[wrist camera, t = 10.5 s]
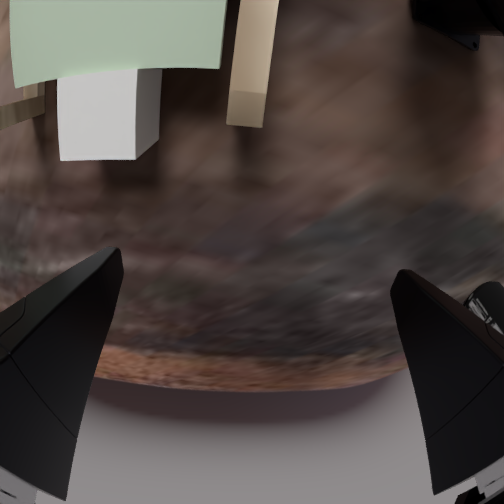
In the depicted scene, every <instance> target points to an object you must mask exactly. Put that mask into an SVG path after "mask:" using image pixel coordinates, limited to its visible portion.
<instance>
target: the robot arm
mask: <svg viewBox="0 0 504 504" xmlns="http://www.w3.org/2000/svg"><path fill="white" fill-rule="evenodd" d="M418 14H420V16H421V19H420V18H419V16H418ZM413 18H414V19H415V20H416V21H417V22H419V23H421V24H423V25H425V26H428V27H430V28H432V29H434V30H436V31H438V32H440V33H442V34H444V35H446V36H447V37H449V38H451V39H453V40H455V41H457V42H458V43H460V44H462V45H464V46H465V47H467V48H469V49H470V50H473V51H477V50H478V49H479V40H480V35H491V36H504V0H414V2H413ZM473 44H474V47H473ZM123 275H124V269H123V263H122V256H121V251H120V249H119V248H117V247H106V248H104V249H102V250H101V251H99V252H97V253H95V254H94V255H92V256H90V257H88V258H87V259H85V260H83V261H82V262H80V263H78V264H76V265H75V266H73V267H71V268H70V269H68V270H66V271H65V272H63V273H62V274H60V275H58V276H57V277H55V278H53V279H52V280H50V281H49V282H47V283H45V284H44V285H42V286H41V287H39V288H38V289H36V290H34V291H33V292H31V293H30V294H28V295H27V296H26V298H25V297H24V298H22V299H21V300H19V301H18V302H16V303H15V304H13V305H11V306H10V307H8V308H7V309H5V310H4V311H2V312H0V504H35V499H36V493H37V490H39V491H42V492H44V493H46V494H49V495H51V496H53V497H56V498H58V499H61V500H63V501H66V497H67V491H68V485H69V479H70V473H71V467H72V462H73V457H74V452H75V447H76V443H77V437H78V433H79V429H80V425H81V421H82V417H83V413H84V409H85V405H86V401H87V397H88V394H89V390H90V387H91V384H92V380H93V377H94V373H95V370H96V367H97V364H98V360H99V357H100V354H101V351H102V348H103V345H104V342H105V339H106V336H107V333H108V330H109V328H110V325H111V322H112V319H113V315H114V311H115V307H116V303H117V299H118V295H119V291H120V287H121V284H122V280H123ZM390 296H391V300H392V304H393V309H394V313H395V318H396V323H397V327H398V332H399V335H400V339H401V342H402V346H403V349H404V352H405V356H406V359H407V363H408V367H409V370H410V374H411V378H412V382H413V386H414V390H415V394H416V398H417V403H418V407H419V411H420V416H421V421H422V426H423V431H424V436H425V440H426V441H425V442H426V448H427V454H428V460H429V466H430V474H431V481H432V489H433V494H434V495H437V494H439V493H441V492H444V491H446V490H448V489H450V488H452V487H455V486H456V485H459V484H461V483H463V482H465V481H467V480H469V479H471V478H473V477H475V479H476V483H477V486H475V487H473V488H472V489H470V490H468V491H466V492H464V493H462V494H460V495H458V497H457V499H456V502H455V504H504V335H503V334H501V333H500V332H499V331H497V330H496V329H495V328H493V327H492V326H491V325H489V324H488V323H487V322H484V320H482V319H481V318H480V317H478V316H477V315H476V314H474V313H473V312H472V311H470V310H469V309H467V308H466V307H465V306H463V305H462V304H460V303H459V302H458V301H456V300H455V299H453V298H452V297H450V296H449V295H448V294H446V293H445V292H443V291H442V290H440V289H439V288H437V287H436V286H434V285H433V284H431V283H430V282H428V281H427V280H425V279H424V278H422V277H421V276H419V275H418V274H416V273H415V272H413V271H412V270H407V269H401V270H400V271H399V272H398V273H397V276H396V278H395V280H394V282H393V285H392V287H391V290H390Z"/></svg>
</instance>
